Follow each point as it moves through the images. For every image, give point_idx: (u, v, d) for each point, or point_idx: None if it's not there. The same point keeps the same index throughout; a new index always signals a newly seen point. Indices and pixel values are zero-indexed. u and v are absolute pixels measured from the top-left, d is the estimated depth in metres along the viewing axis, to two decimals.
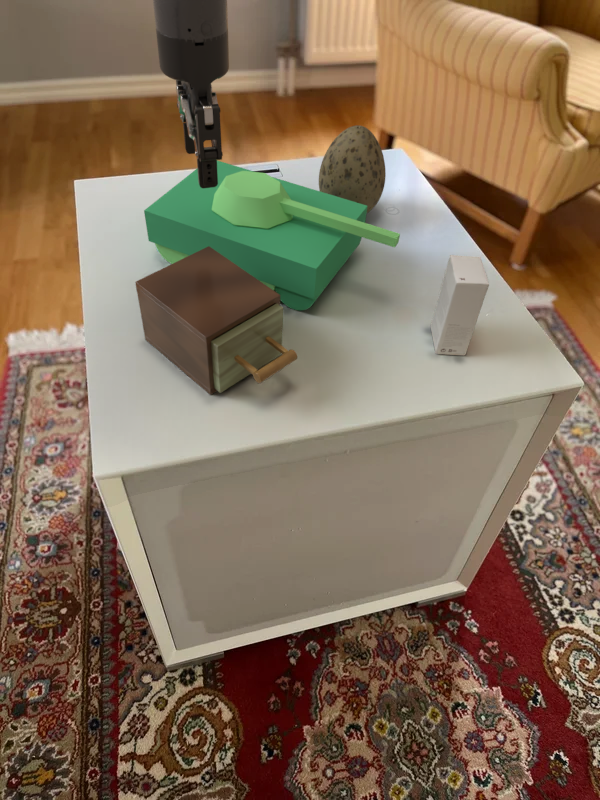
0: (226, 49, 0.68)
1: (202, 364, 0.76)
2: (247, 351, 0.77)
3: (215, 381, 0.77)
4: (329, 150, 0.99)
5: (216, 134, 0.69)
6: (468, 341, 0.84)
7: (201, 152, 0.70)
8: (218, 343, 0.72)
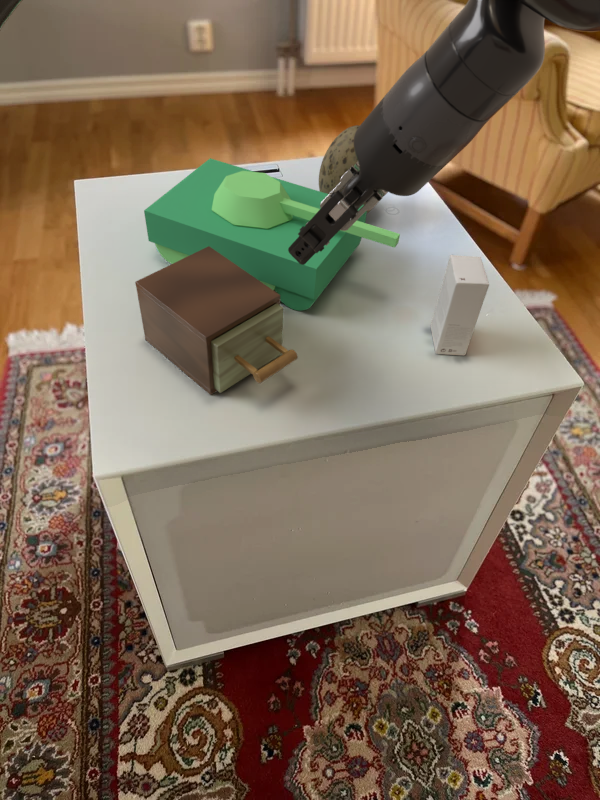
0: (422, 179, 0.53)
1: (202, 364, 0.76)
2: (247, 351, 0.77)
3: (215, 381, 0.77)
4: (329, 150, 0.99)
5: (330, 231, 0.55)
6: (468, 341, 0.84)
7: (304, 229, 0.56)
8: (218, 343, 0.72)
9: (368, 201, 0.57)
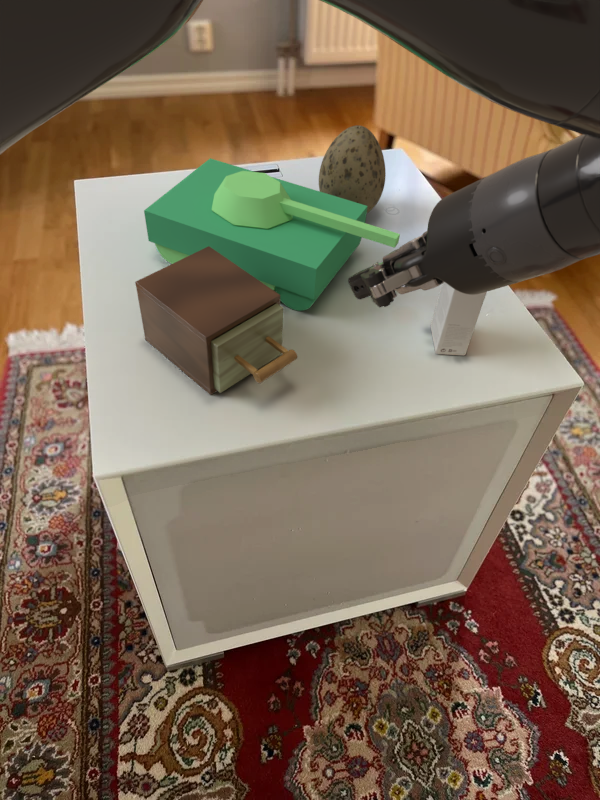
0: (492, 287, 0.44)
1: (202, 364, 0.76)
2: (247, 351, 0.77)
3: (215, 381, 0.77)
4: (329, 150, 0.99)
5: (373, 298, 0.50)
6: (468, 341, 0.84)
7: (361, 277, 0.51)
8: (218, 343, 0.72)
9: None
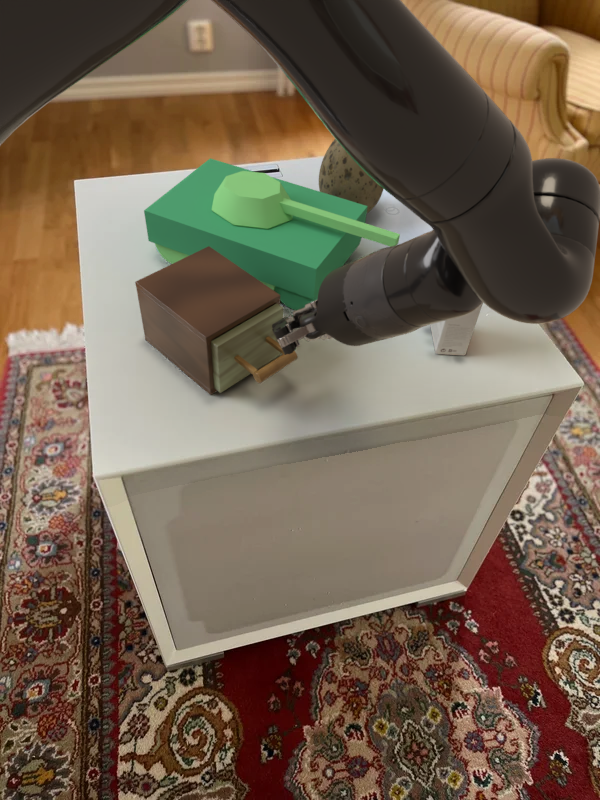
0: (366, 342, 0.57)
1: (202, 364, 0.76)
2: (247, 351, 0.77)
3: (215, 381, 0.77)
4: (329, 150, 0.99)
5: None
6: (468, 341, 0.84)
7: (276, 327, 0.64)
8: (218, 343, 0.72)
9: None
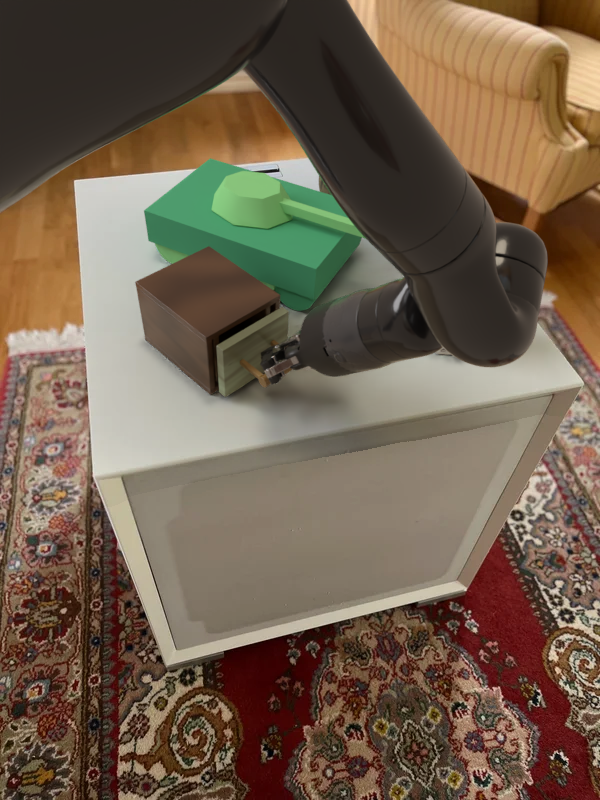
0: (345, 374, 0.63)
1: (202, 364, 0.76)
2: (252, 355, 0.76)
3: (220, 385, 0.77)
4: None
5: None
6: None
7: None
8: (223, 347, 0.72)
9: None
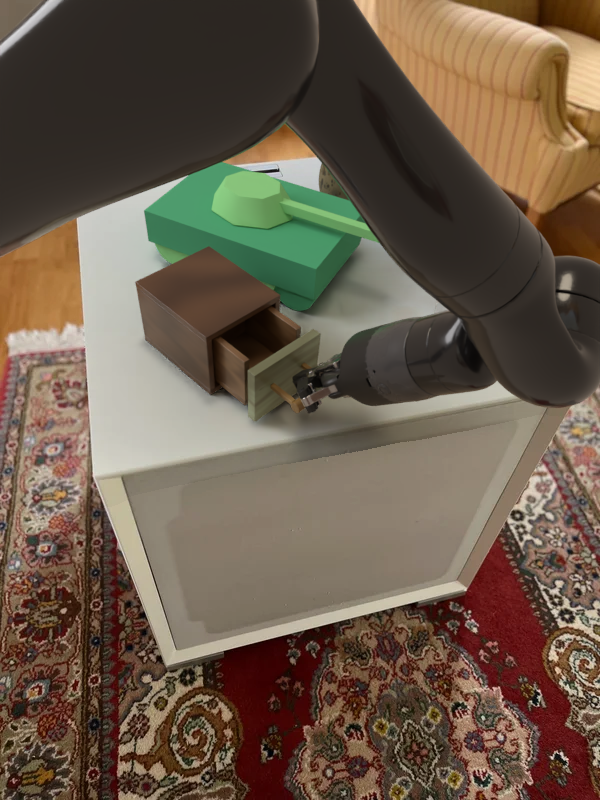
0: (387, 404, 0.60)
1: (202, 364, 0.76)
2: (283, 378, 0.74)
3: (250, 410, 0.74)
4: None
5: None
6: None
7: (298, 384, 0.67)
8: (255, 372, 0.70)
9: None
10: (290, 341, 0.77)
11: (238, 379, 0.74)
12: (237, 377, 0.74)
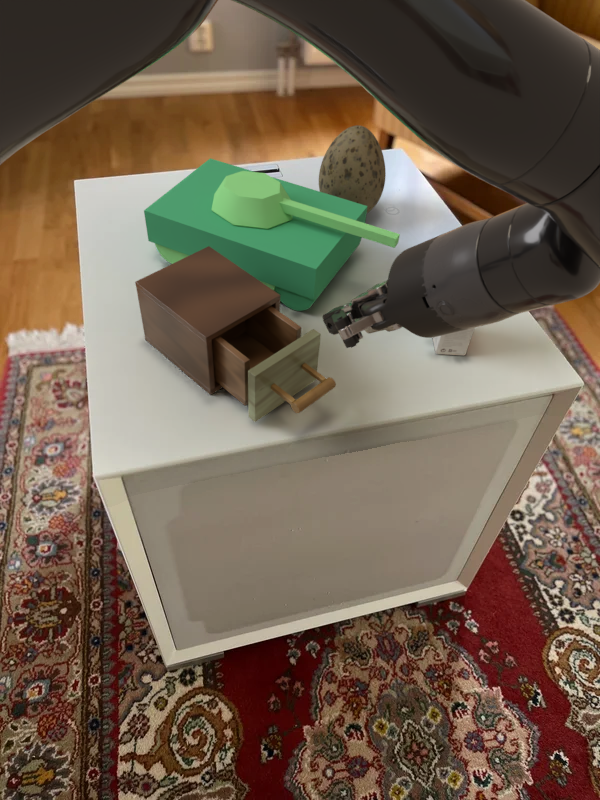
0: (445, 332, 0.50)
1: (202, 364, 0.76)
2: (283, 378, 0.74)
3: (250, 410, 0.74)
4: (329, 150, 0.99)
5: None
6: (468, 341, 0.84)
7: None
8: (255, 372, 0.70)
9: None
10: (290, 341, 0.77)
11: (238, 379, 0.74)
12: (237, 377, 0.74)
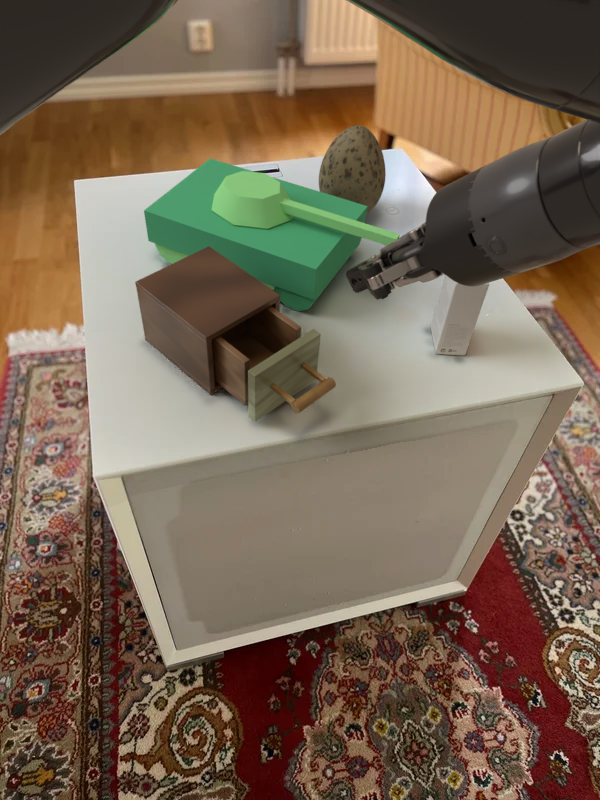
0: (491, 278, 0.44)
1: (202, 364, 0.76)
2: (283, 378, 0.74)
3: (250, 410, 0.74)
4: (329, 150, 0.99)
5: (371, 291, 0.49)
6: (468, 341, 0.84)
7: (359, 269, 0.50)
8: (255, 372, 0.70)
9: None
10: (290, 341, 0.77)
11: (238, 379, 0.74)
12: (237, 377, 0.74)
